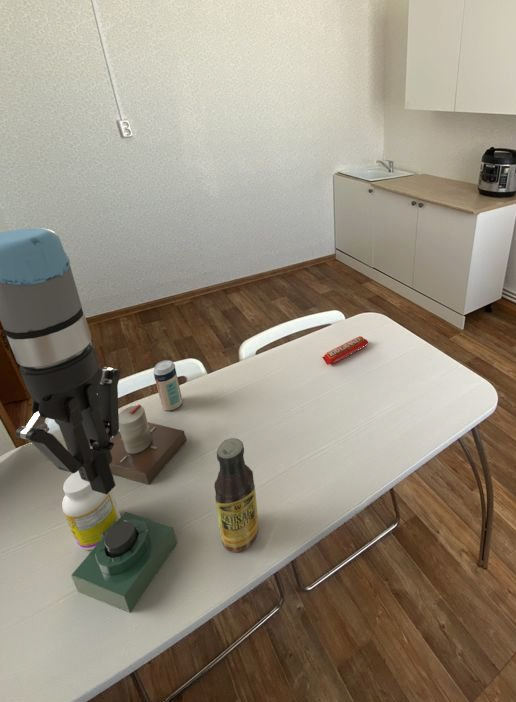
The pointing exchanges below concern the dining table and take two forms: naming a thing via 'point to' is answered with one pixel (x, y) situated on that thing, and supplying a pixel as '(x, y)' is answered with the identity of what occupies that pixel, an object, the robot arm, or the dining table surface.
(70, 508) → the supplement bottle
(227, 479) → the sauce bottle
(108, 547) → the dark grey push button
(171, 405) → the pale pink canister
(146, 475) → the dial panel
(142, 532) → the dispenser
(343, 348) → the candy bar
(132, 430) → the dial
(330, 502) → the dining table surface
